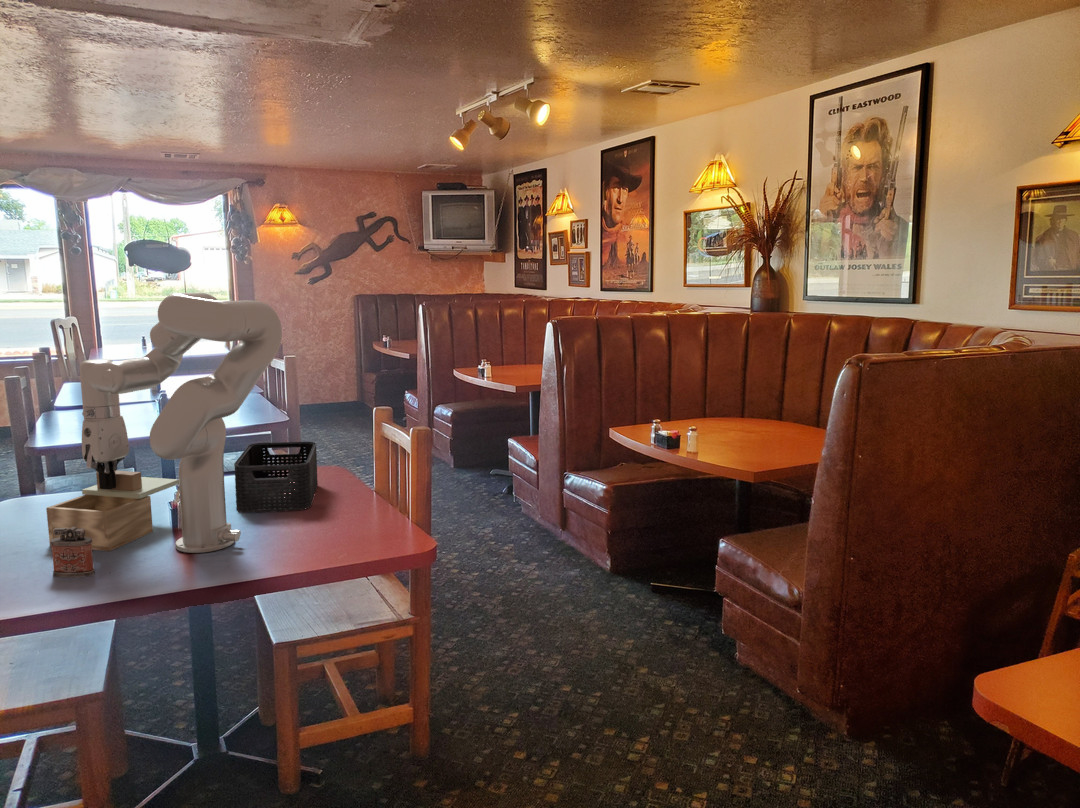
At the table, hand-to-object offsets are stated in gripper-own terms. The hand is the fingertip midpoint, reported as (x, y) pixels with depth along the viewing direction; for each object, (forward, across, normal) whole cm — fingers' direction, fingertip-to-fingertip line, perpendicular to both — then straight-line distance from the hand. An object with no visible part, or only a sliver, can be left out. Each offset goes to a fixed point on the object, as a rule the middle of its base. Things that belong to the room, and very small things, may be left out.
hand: (108, 488), depth 183 cm
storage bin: (+12, +39, -22) cm, 46 cm away
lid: (+2, +8, 0) cm, 8 cm away
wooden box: (+12, -3, 0) cm, 12 cm away
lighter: (+12, -23, -11) cm, 28 cm away
